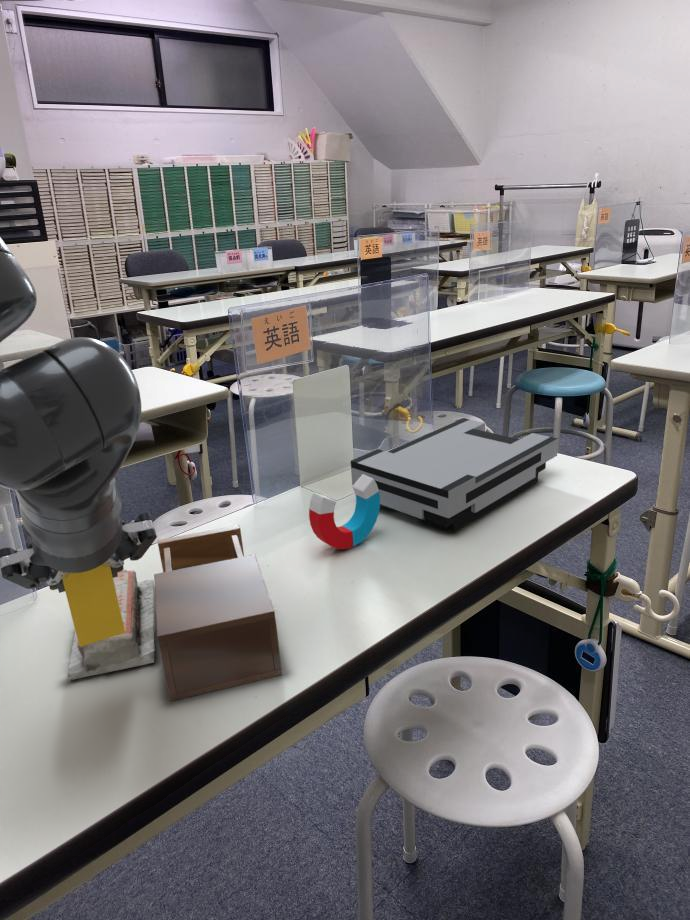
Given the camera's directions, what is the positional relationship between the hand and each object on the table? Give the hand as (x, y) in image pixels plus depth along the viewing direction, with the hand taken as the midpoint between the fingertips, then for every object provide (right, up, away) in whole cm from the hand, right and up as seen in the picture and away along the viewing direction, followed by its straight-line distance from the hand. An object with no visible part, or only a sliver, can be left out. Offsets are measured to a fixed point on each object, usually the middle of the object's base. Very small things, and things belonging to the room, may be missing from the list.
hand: (86, 575), depth 71 cm
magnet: (+27, -1, +35) cm, 45 cm away
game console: (+47, +7, +52) cm, 70 cm away
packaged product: (-3, -10, +18) cm, 21 cm away
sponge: (+1, -6, +1) cm, 6 cm away
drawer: (+8, -6, +24) cm, 26 cm away
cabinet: (+12, -11, +12) cm, 20 cm away
